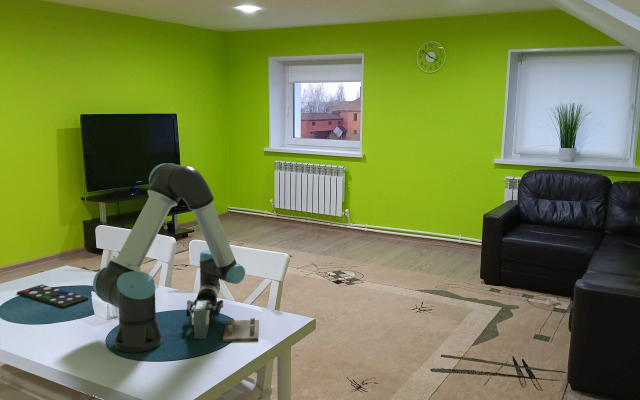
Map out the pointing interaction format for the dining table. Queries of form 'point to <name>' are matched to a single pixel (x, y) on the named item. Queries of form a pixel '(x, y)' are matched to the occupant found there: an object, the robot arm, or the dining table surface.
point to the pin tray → (241, 330)
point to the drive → (201, 319)
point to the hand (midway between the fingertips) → (199, 320)
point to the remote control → (52, 296)
